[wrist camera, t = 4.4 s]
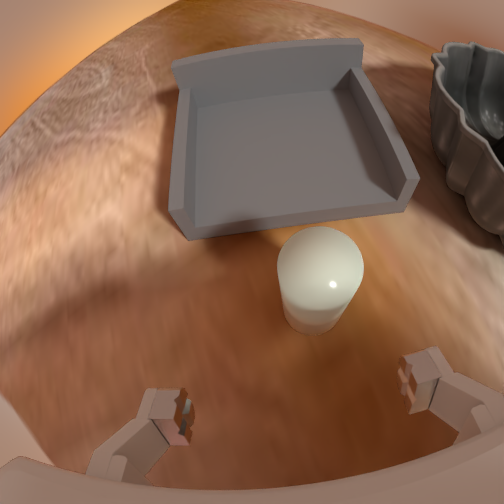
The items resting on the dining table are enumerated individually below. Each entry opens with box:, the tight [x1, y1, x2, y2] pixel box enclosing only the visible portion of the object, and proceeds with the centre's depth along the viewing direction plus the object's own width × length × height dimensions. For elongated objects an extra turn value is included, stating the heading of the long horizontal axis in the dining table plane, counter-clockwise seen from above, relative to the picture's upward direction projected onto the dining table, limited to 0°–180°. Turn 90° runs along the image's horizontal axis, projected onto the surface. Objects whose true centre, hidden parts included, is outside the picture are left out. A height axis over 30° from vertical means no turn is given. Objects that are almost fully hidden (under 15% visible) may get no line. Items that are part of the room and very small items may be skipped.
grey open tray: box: [168, 38, 420, 241], centre depth 26 cm, size 16×19×8 cm
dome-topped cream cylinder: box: [277, 226, 364, 336], centre depth 19 cm, size 4×4×8 cm
